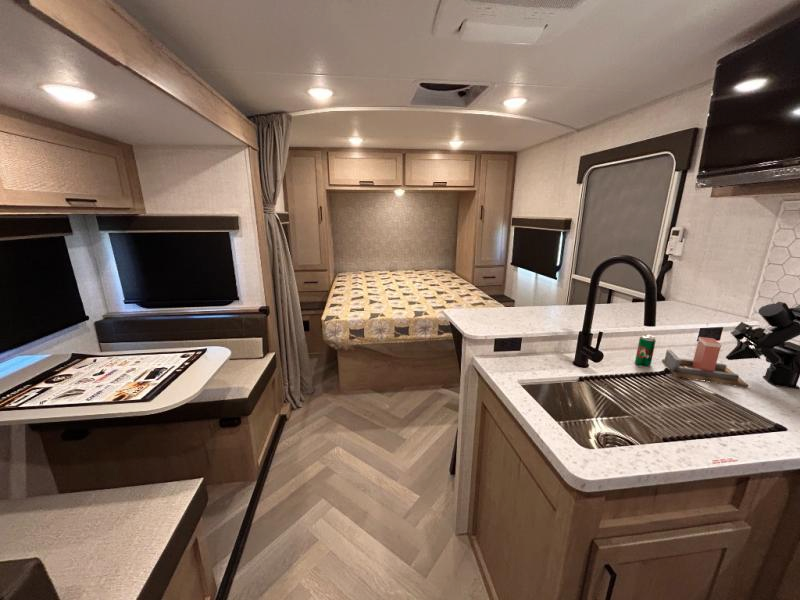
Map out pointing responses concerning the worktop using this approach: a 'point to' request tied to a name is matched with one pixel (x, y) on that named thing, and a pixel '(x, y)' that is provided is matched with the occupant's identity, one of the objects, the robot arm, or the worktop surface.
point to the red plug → (706, 354)
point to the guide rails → (675, 367)
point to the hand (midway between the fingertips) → (726, 358)
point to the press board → (723, 381)
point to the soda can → (645, 350)
